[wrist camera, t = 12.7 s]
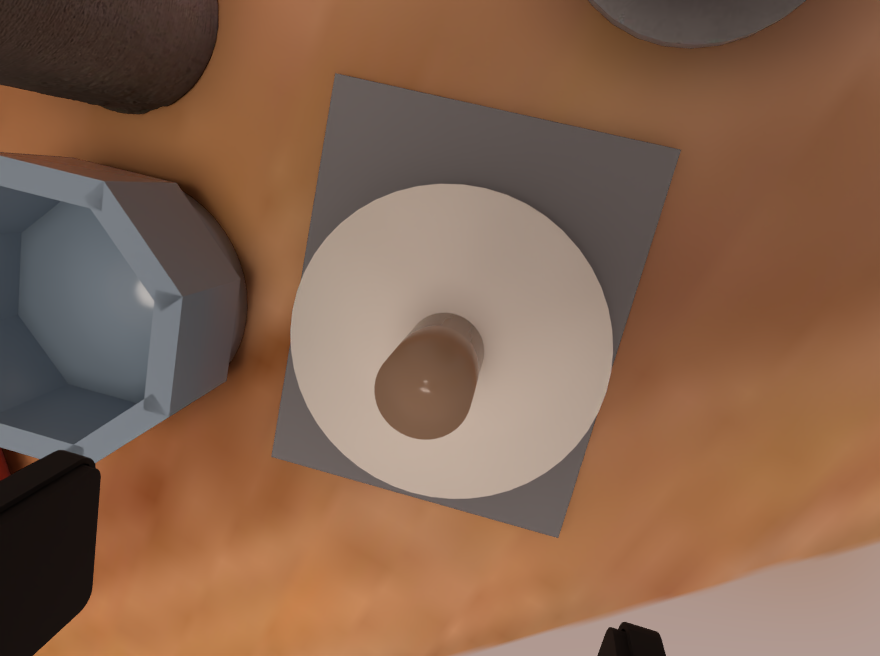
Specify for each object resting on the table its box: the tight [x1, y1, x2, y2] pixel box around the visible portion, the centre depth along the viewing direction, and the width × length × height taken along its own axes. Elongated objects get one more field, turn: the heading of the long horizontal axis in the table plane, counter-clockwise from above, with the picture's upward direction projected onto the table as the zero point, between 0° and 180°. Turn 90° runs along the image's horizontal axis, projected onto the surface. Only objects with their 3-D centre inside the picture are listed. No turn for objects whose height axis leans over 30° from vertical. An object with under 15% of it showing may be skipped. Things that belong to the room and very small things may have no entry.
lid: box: [290, 184, 613, 499], centre depth 25 cm, size 15×15×8 cm
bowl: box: [0, 152, 247, 463], centre depth 28 cm, size 13×13×7 cm
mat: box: [272, 73, 681, 538], centre depth 29 cm, size 16×20×1 cm
